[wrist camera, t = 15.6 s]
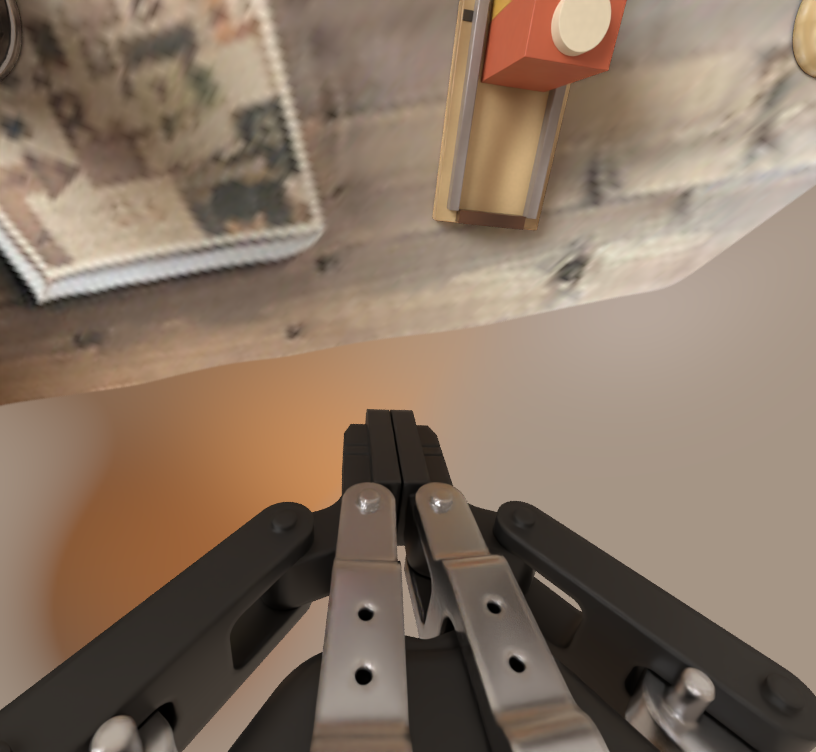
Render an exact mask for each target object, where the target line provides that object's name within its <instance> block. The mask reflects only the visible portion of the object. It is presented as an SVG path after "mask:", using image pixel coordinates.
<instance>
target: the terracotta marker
mask: <svg viewBox="0 0 816 752" xmlns="http://www.w3.org/2000/svg"><path fill="white" fill-rule="evenodd" d="M626 1H627V0H512V1H511V2H510V3H509V4H508V5H507V6H506V7H505V8H504V9H503V10H502V11H501V12H500V13H499V14H498V15H497V16H496V17H495V18H494V19H493V20H492V21H491V22H490V24H489V30H488V37H487V44H486V50H485V57H484V63H483V70H482V76H481V83H487V84H493V85H500V86H506V87H513V88H520V89H526V90H533V91H539V92H546V91H549V90H552V89H555V88H558V87H561V86H564V85H567V84H570V83H573V82H576V81H579V80H582V79H585V78H588V77H590V76H593V75H596V74H599V73H602V72H605V71H608V70H609V66H610V62H611V58H612V54H613V51H614V47H615V43H616V39H617V35H618V31H619V28H620V24H621V20H622V16H623V12H624V8H625V5H626Z"/></svg>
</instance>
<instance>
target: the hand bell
mask: <svg viewBox="0 0 816 752" xmlns="http://www.w3.org/2000/svg"><path fill="white" fill-rule="evenodd" d="M793 51H794V56H795V58H796V61H797V63H798V65H799V66H800V67H801V69H802V70H803V71H804V72H806V73H807V74H808V75H811V76H813V77H816V0H802V2H801V5H800V7H799V10H798V13H797V16H796V20H795V25H794V30H793Z"/></svg>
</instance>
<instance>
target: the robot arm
mask: <svg viewBox="0 0 816 752" xmlns="http://www.w3.org/2000/svg"><path fill="white" fill-rule="evenodd" d="M21 42H22V28H21V20H20V15H19V11H18V7H17V3H16V1H15V0H0V81H1V80H2V79H4V78H5V77H6V76H7V75H8V74H9V73H10V72H11V70H12V69H13V67H14V66H15V64H16V62H17V60H18V57H19V54H20V49H21ZM403 545H404V546H405V549H406V559H405V567H404V571H405V576H406V580H407V584H408V589H409V593H410V598H411V602H412V606H413V611H414V616H415V620H416V624H417V628H418V634H419V638H415V637H410V636H405V635H404V614H403V593H402V572H401V563H400V561H398V559H397V546H403ZM536 571H537V572H538V573H539V574H541V575H542V576H543V577H545V578H546V579H547V580H549V581H550V582H551V583H553V584H554V585H555V586H557V587H558V588H559V589H561V590H562V591H563V592H565V593H566V594H567V595H569V596H570V597H572V598H573V599H574V600H575V601H576V602H577V603H578V604H579V606H580V608H581V610H582V612H581V611H579V610H577V609H576V608H574V607H573V606H572V605H571V604H569V603H568V602H567V601H565V600H564V599H563V598H561V597H560V596H559V595H557V594H556V593H555V592H553V591H552V590H550V588H548V587H547V586H546V585H544V584H543V583H542V582H540V581H539V580H538V579H536V578H535V577H534V575H535V572H536ZM326 596H329V604H328V612H327V621H326V629H325V638H324V646H323V652H321V653H319V654H317V655H315V656H313V657H311V658H310V659H308V660H307V661H305V662H303V663H302V664H301V665H299V666H298V667H297V668H296V669H294V670H293V671H292V672H291V673H290V674H289V675H288V676H287V677H286V678H285V679H284V680H283V681H282V682H281V683H280V684H279V686H278V687H277V688H276V689H275V691H274V692H273V693H272V695H271V696H270V697H269V698H268V700H267V701H266V702H265V704H264V705H263V706H262V708H261V709H260V710H259V711H258V713H257V714H256V715H255V717H254V718H253V719H252V721H251V722H250V723H249V725H248V726H247V727H246V729H245V730H244V731H243V732H242V734H241V735H240V736H239V738H238V739H237V740H236V741H235V743H234V744H233V745H232V747H231V748H230V749H229V751H228V752H810V751H811V750H812V749H813V748H815V747H816V696H815V695H814V694H813V693H812V691H811V690H810V689H809V688H807V686H806V685H805V684H804V683H803V682H802V681H800V680H799V679H798V678H797V677H796V676H795V675H793V674H792V673H791V672H789V671H788V670H786V669H785V668H783V667H782V666H780V665H779V664H777V663H776V662H774V661H773V660H771V659H770V658H768V657H766V656H765V655H763V654H762V653H760V652H759V651H757V650H755V649H754V648H753V647H751V646H750V645H748V644H746V643H745V642H743V641H742V640H740V639H738V638H737V637H736V636H734V635H733V634H731V633H729V632H728V631H726V630H725V629H723V628H722V627H720V626H719V625H717V624H716V623H714V622H712V621H711V620H709V619H708V618H706V617H705V616H703V615H702V614H700V613H699V612H697V611H695V610H694V609H692V608H691V607H689V606H688V605H686V604H685V603H683V602H681V601H680V600H678V599H677V598H675V597H674V596H672V595H671V594H669V593H668V592H666V591H664V590H663V589H661V588H660V587H658V586H657V585H655V584H654V583H652V582H651V581H649V580H648V579H646V578H644V577H643V576H641V575H640V574H638V573H637V572H635V571H634V570H632V569H631V568H629V567H627V566H626V565H624V564H623V563H621V562H620V561H618V560H617V559H615V558H614V557H612V556H610V555H609V554H607V553H606V552H604V551H603V550H601V549H600V548H598V547H597V546H595V545H593V544H592V543H590V542H589V541H587V540H586V539H584V538H583V537H581V536H580V535H578V534H576V533H575V532H573V531H572V530H570V529H569V528H567V527H566V526H564V525H563V524H561V523H559V522H558V521H556V520H555V519H553V518H552V517H550V516H549V515H547V514H546V513H544V512H542V511H541V510H539V509H538V508H536V507H534V506H533V505H530V504H528V503H525V502H521V501H510V502H506V503H504V504H502V505H501V506H500V507H499V509H498V512H494V511H490V510H485V509H482V508H478V507H475V506H473V505H470V504H469V503H467V501H466V499H465V497H464V495H463V494H462V493H461V492H460V491H459V490H458V489H456V488H455V487H453V485H452V481H451V479H450V475H449V472H448V469H447V466H446V463H445V460H444V457H443V454H442V450H441V448H440V444H439V441H438V438H437V435H436V434H435V433H434V432H433V431H432V430H431V429H430V428H429V427H428V426H422V425H416V422H415V418H414V414H413V411H412V410H390V412H389V410H374V409H367V412H366V423H365V424H350V426H349V427H348V429H347V430H346V431H345V433H344V446H343V465H342V496H341V497H340V499H339V500H338V501H337V502H336V503H335V504H333V505H332V506H330V507H328V508H325V509H322V510H319V511H315V512H311V511H310V510H309V509H308V508H307V507H305V506H304V505H302V504H298V503H294V502H282V503H277V504H274V505H271V506H269V507H267V508H266V509H264V510H263V511H262V512H260V513H259V514H258V515H256V516H255V517H254V518H252V519H251V520H250V521H248V522H247V523H246V524H245V525H243V526H242V527H241V528H239V529H238V530H237V531H235V532H234V533H233V534H231V535H230V536H229V537H227V538H226V539H225V540H223V541H222V542H221V543H220V544H218V545H217V546H216V547H214V548H213V549H212V550H210V551H209V552H208V553H206V554H205V555H204V556H203V557H201V558H200V559H199V560H197V561H196V562H195V563H193V564H192V565H191V566H189V567H188V568H187V569H185V570H184V571H183V572H181V573H180V574H179V575H177V576H176V577H175V578H174V579H172V580H171V581H170V582H168V583H167V584H166V585H165V586H163V587H162V588H160V589H159V590H158V591H156V592H155V593H154V594H152V595H151V596H150V597H149V598H147V599H146V600H145V601H143V602H142V603H141V604H139V605H138V606H137V607H135V608H134V609H133V610H132V611H130V612H129V613H128V614H126V615H125V616H124V617H122V618H121V619H120V620H118V621H117V622H116V623H114V624H113V625H112V626H111V627H109V628H108V629H107V630H105V631H104V632H103V633H101V634H100V635H99V636H98V637H96V638H95V639H93V640H92V641H91V642H89V643H88V644H87V645H86V646H84V647H83V648H82V649H80V650H79V651H78V652H76V653H75V654H74V655H72V656H71V657H70V658H68V659H67V660H66V661H64V662H63V663H62V664H61V665H59V666H58V667H57V668H55V669H54V670H53V671H51V672H50V673H49V674H47V675H46V676H45V677H43V678H42V679H41V680H39V681H38V682H37V683H36V684H34V685H33V686H32V687H30V688H29V689H28V690H26V691H25V692H24V693H22V694H21V695H20V696H18V697H17V698H16V699H15V700H13V701H12V702H11V703H9V704H8V705H7V706H5V707H4V708H3V709H1V710H0V752H182V751H183V750H184V749H185V748H186V746H187V745H188V744H189V743H190V742H191V741H192V740H193V739H194V738H195V736H196V735H197V734H198V733H199V732H200V731H201V730H202V729H203V727H204V726H205V725H206V724H207V723H208V722H209V721H210V719H211V718H212V717H213V716H214V715H215V714H216V713H217V712H218V711H219V709H220V708H221V707H222V706H223V705H224V704H225V703H226V701H228V699H229V698H230V697H231V696H232V695H233V694H234V693H235V692H236V690H237V689H238V688H239V687H240V686H241V685H242V684H243V682H244V681H245V680H246V679H247V678H248V677H249V676H250V675H251V674H252V672H253V671H254V670H255V669H256V668H257V667H258V666H259V665H260V663H261V662H262V661H263V660H264V659H265V658H266V657H267V655H268V654H269V653H270V652H271V651H272V650H273V649H274V648H275V647H276V645H277V644H278V643H279V642H280V641H281V640H282V639H283V638H284V637H285V635H286V634H287V633H288V632H289V631H290V630H291V628H293V626H294V625H295V624H296V623H297V622H298V621H299V620H300V619H301V617H302V616H303V615H304V614H305V613H306V612H307V610H308V609H309V607H310V605H311V603H312V602H313V601H316V600H318V599H321V598H323V597H326Z"/></svg>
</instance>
